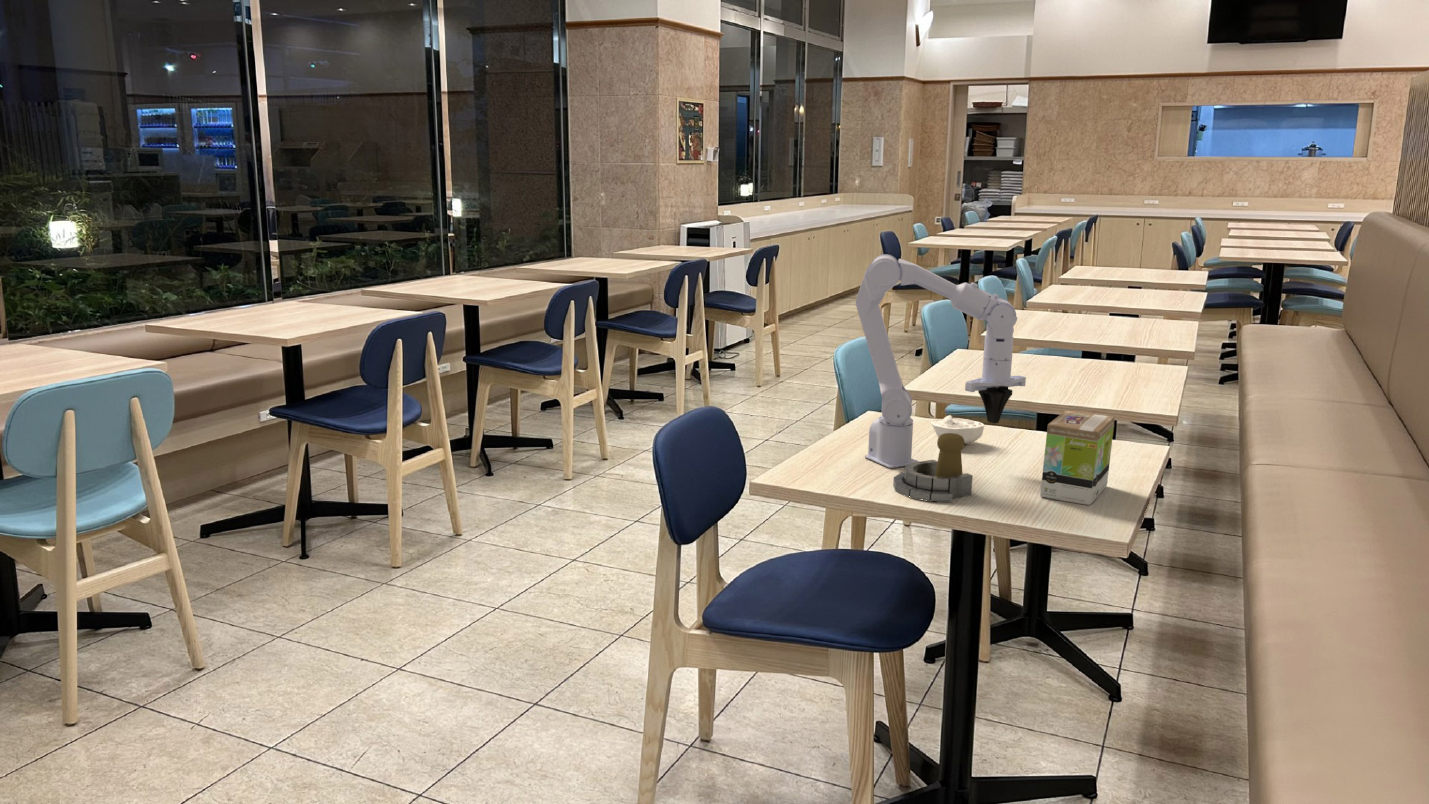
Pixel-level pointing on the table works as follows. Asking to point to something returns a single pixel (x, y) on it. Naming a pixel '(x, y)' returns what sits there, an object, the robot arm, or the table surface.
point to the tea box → (1077, 457)
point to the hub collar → (931, 483)
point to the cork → (949, 455)
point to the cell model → (959, 428)
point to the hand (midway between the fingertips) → (993, 422)
